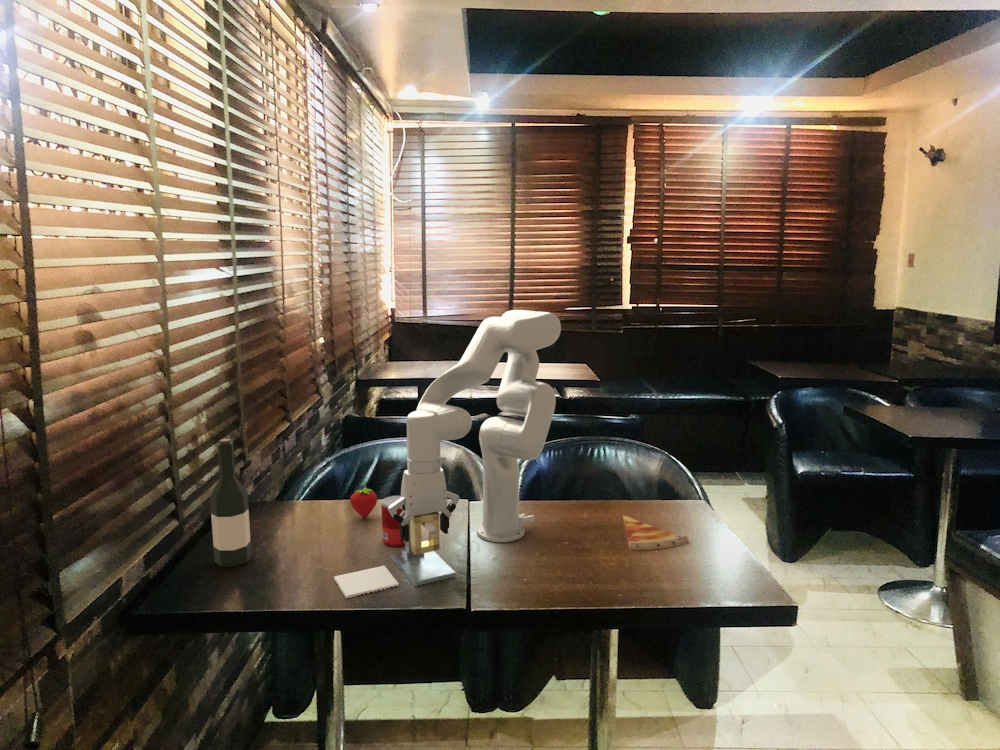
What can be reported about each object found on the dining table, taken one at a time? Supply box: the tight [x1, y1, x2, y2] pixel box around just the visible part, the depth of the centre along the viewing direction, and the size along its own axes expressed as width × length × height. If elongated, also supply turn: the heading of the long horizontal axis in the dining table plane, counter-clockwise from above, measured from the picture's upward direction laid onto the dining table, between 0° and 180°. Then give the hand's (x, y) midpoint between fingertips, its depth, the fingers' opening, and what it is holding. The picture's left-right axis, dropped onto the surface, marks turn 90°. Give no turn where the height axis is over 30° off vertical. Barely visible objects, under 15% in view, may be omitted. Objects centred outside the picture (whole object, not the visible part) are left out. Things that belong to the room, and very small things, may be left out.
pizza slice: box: [622, 515, 689, 551], centre depth 182 cm, size 16×22×2 cm
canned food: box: [380, 495, 405, 547], centre depth 175 cm, size 8×8×11 cm
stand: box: [390, 520, 456, 587], centre depth 160 cm, size 10×16×14 cm, turn 28°
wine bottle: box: [209, 438, 252, 568], centre depth 162 cm, size 8×8×30 cm
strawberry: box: [349, 482, 378, 519], centre depth 191 cm, size 6×8×10 cm
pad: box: [333, 565, 400, 599], centre depth 154 cm, size 12×10×1 cm
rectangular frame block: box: [410, 512, 441, 555], centre depth 158 cm, size 6×3×9 cm, turn 118°
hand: (424, 535), depth 158 cm, fingers open, 9 cm apart
